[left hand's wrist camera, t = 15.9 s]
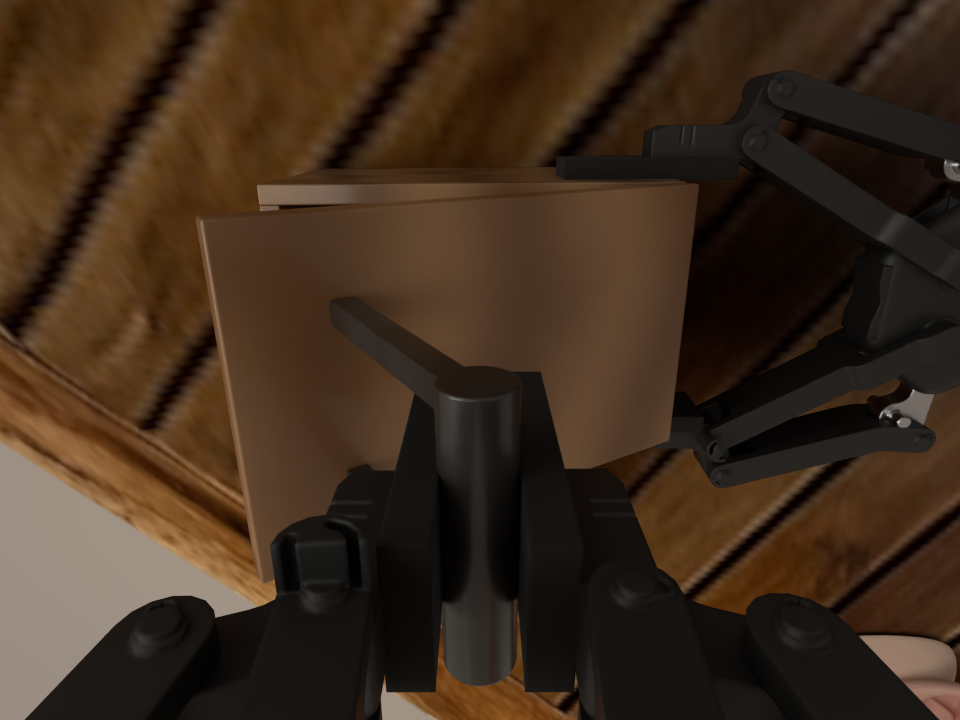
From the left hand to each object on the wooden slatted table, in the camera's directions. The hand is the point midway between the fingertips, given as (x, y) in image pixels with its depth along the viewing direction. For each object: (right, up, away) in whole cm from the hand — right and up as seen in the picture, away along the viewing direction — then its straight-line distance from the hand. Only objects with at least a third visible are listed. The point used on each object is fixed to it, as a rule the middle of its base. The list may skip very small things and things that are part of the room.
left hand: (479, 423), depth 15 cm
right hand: (+3, +4, +11) cm, 12 cm away
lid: (0, +2, +4) cm, 5 cm away
